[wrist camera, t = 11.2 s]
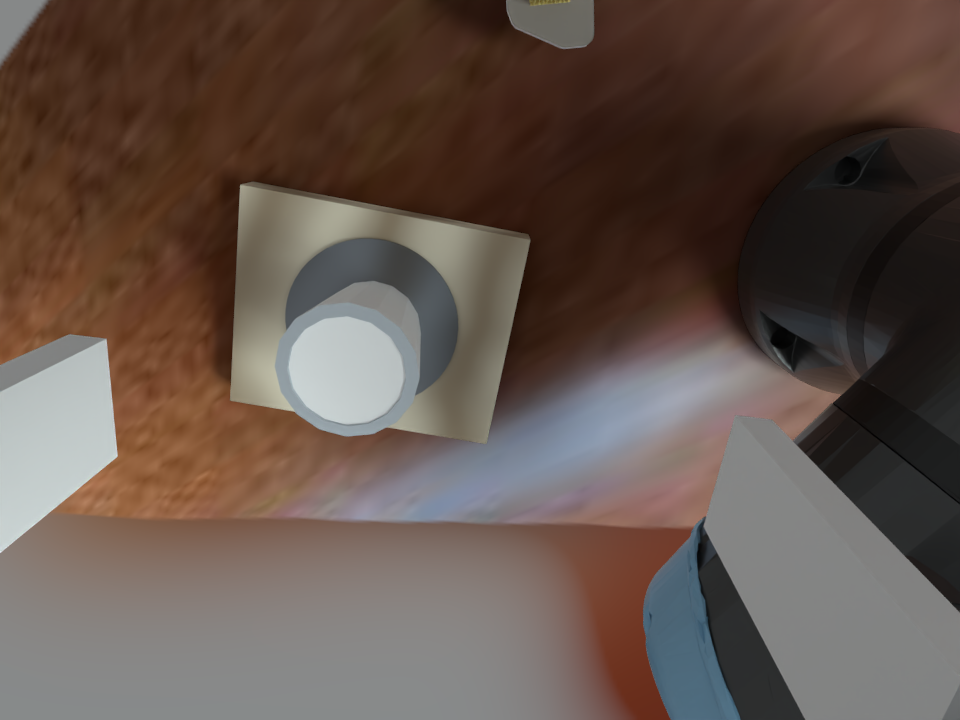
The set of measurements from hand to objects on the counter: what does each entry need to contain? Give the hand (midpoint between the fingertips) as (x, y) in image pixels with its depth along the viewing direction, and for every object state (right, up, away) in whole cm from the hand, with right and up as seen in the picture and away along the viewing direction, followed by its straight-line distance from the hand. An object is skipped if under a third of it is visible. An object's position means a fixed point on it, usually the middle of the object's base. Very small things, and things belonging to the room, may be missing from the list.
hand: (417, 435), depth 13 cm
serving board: (-5, +4, +25) cm, 26 cm away
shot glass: (-5, +3, +23) cm, 23 cm away
